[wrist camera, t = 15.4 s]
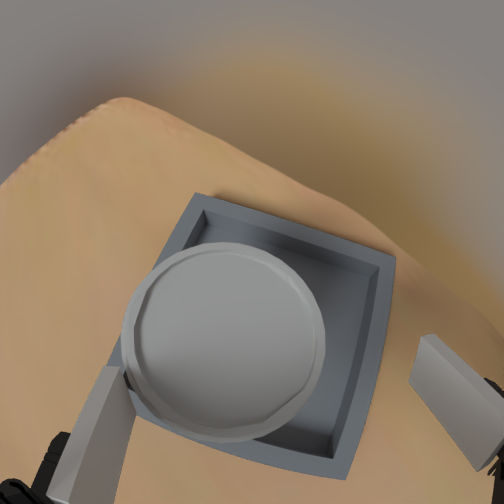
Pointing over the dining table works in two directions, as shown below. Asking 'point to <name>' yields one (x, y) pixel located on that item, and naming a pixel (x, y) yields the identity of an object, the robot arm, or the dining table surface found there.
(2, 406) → the dining table surface
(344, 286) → the slate tray
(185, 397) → the disposable coffee cup
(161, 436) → the dining table surface
